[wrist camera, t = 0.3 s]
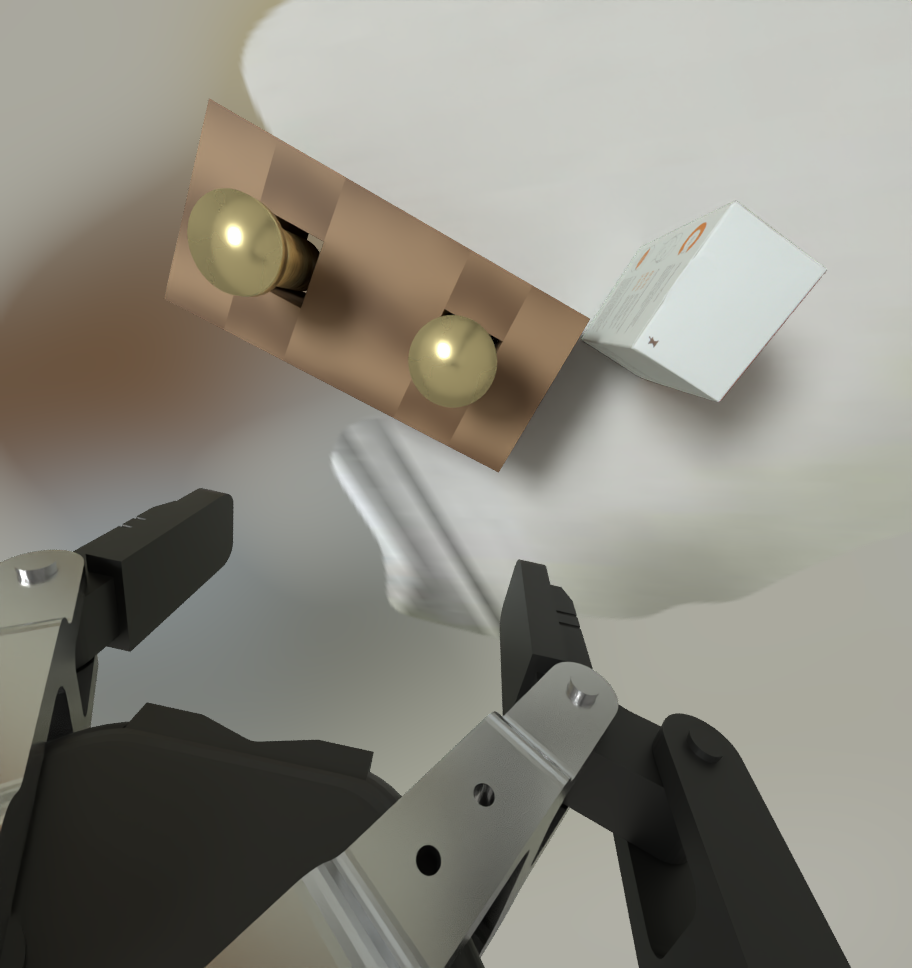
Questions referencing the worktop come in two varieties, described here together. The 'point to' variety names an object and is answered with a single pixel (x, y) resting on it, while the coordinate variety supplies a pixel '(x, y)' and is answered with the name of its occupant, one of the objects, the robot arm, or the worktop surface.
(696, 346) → the small box
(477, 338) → the plunger
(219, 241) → the plunger
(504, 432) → the socket block
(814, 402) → the worktop surface
